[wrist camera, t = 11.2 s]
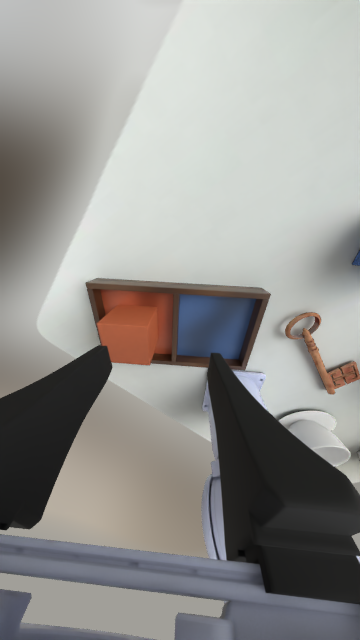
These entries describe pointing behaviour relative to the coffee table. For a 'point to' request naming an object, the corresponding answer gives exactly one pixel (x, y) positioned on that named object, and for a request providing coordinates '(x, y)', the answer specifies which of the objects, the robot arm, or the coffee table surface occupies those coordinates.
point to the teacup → (317, 434)
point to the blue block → (357, 260)
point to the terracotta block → (130, 333)
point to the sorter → (190, 317)
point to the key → (313, 350)
